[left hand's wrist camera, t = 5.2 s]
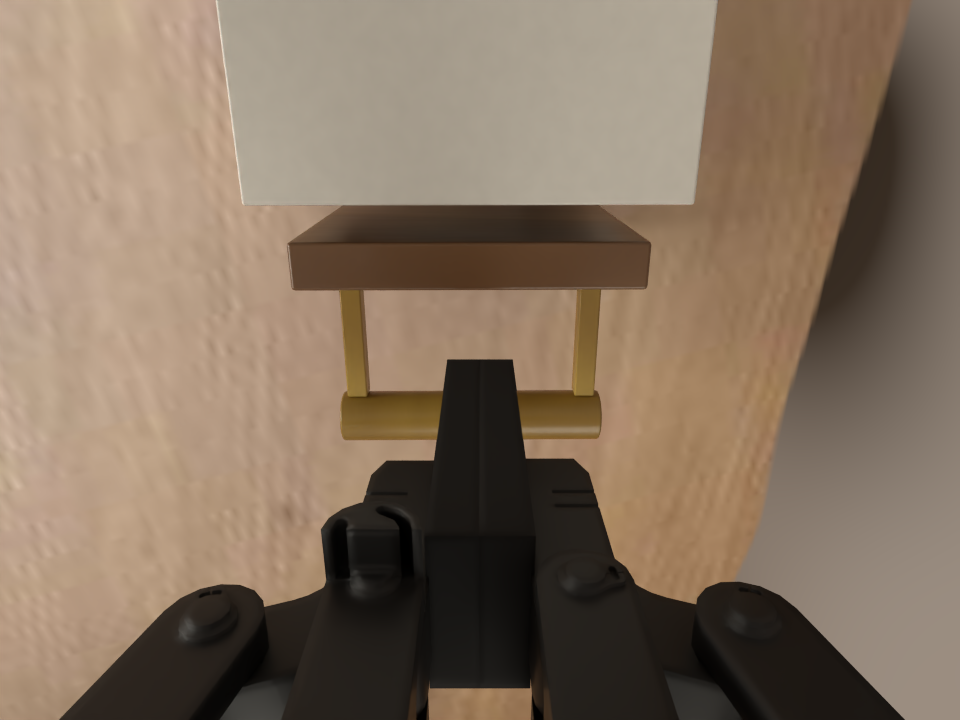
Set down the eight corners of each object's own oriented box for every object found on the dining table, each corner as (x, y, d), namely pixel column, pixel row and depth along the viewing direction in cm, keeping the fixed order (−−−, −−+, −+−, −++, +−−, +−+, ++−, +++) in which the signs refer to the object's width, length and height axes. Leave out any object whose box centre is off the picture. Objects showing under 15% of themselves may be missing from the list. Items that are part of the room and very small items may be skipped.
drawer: (585, 378, 25) (629, 480, 18) (356, 379, 25) (311, 482, 18) (634, -399, 17) (749, -761, 10) (298, -402, 17) (175, -766, 10)
